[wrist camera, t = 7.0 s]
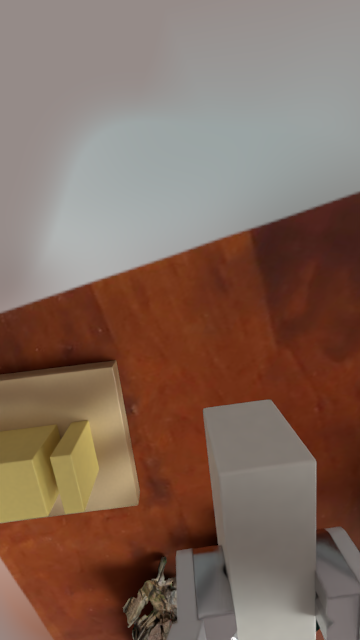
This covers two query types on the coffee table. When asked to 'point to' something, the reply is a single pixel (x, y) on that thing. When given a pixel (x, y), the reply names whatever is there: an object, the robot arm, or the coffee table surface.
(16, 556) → the coffee table surface
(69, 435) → the butter slice
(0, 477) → the butter
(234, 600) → the knife
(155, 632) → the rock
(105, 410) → the butter board
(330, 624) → the robot arm
